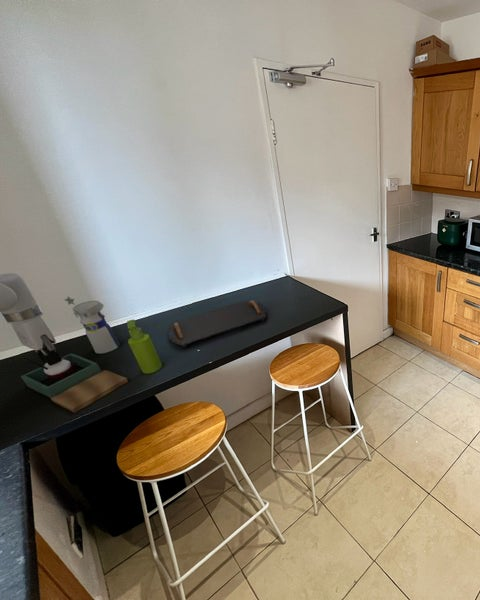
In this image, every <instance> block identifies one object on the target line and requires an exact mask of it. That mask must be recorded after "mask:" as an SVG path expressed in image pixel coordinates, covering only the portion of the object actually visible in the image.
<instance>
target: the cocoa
mask: <svg viewBox="0 0 480 600" xmlns="http://www.w3.org/2000/svg"><path fill="white" fill-rule="evenodd" d="M23 358H24V359H25V360H27V361H28V362H31V363H33V364H35V365H36V366H39V368H40V367H42V368H44V372H45V373H46V375H47V376H48V377H49V378H48V379H51V380H53V381H60V380H62V379H64V378H66V377H68V376H70V375H72V374H74V371H75V370H76V368H77V367H78V365H77V362H72V363H70V361H67V360H63V359H62V361H61V362H59V363H56V364H54V365H52V366H49V365H48V363H47V362H46V363H44V364H41V363H39V362H37V361H36V360H34V359H32V358H30V357H28V356H23ZM73 363H75V365H74V366H72V364H73Z"/></svg>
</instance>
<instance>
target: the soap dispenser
mask: <svg viewBox="0 0 480 600" xmlns="http://www.w3.org/2000/svg"><path fill="white" fill-rule="evenodd" d="M126 325H127V329H128V334H129V337H130V338H129V339H128V340H127V343H128V345H129V347H130V349H131V351H132V353H133V355H134V358H135V360H136V362H137V364H138V365H139V366H138V367H139V368H140V370H141V372H142V373H143V374H145V375H147V374H152V373H156V372H157V371H159V370H160V369H161V368H163V363H162V361H161V359H160V357H159V354H158V352H157V350H156V348H155V346H154V343H153V341H152V339H151V336H150V334H148V333H144V332H143V330H142V328H141V327H140V326H137V325H136V321H135V319H130V320H127V321H126Z"/></svg>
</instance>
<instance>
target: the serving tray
mask: <svg viewBox="0 0 480 600" xmlns="http://www.w3.org/2000/svg"><path fill="white" fill-rule="evenodd" d="M266 318H267V310H266V307H264V306H263V304H261V303H259V302H257V301H254V300H244V301H240V302H237V303H233V304H229V305H227V306H224V307H219V308H217V309H213V310H209V311H206V312H203V313H199V314H195V315H193V316H189V317H185V318H182V319H178V320H176V321H173V322H172V323H171V324H170V325H169V327H168V330H167V332H168V333H167V338H168V339H169V340H170V341H171V342H172V343H173V344H174V343H175V344H176V345H178V346H181V348H183V349H187V348H188V347H189V345H190V344H192V343H195V342H198V341H202V340H204V339H207V338H211V337H213V336H216V335H219V334H223V333H226V332H228V331H231V330H234V329H237V328H241V327H244V326H246V325H248V324H252V323H256V322H258V321H260V322H261V323H264V322H265V321H266Z"/></svg>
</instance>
